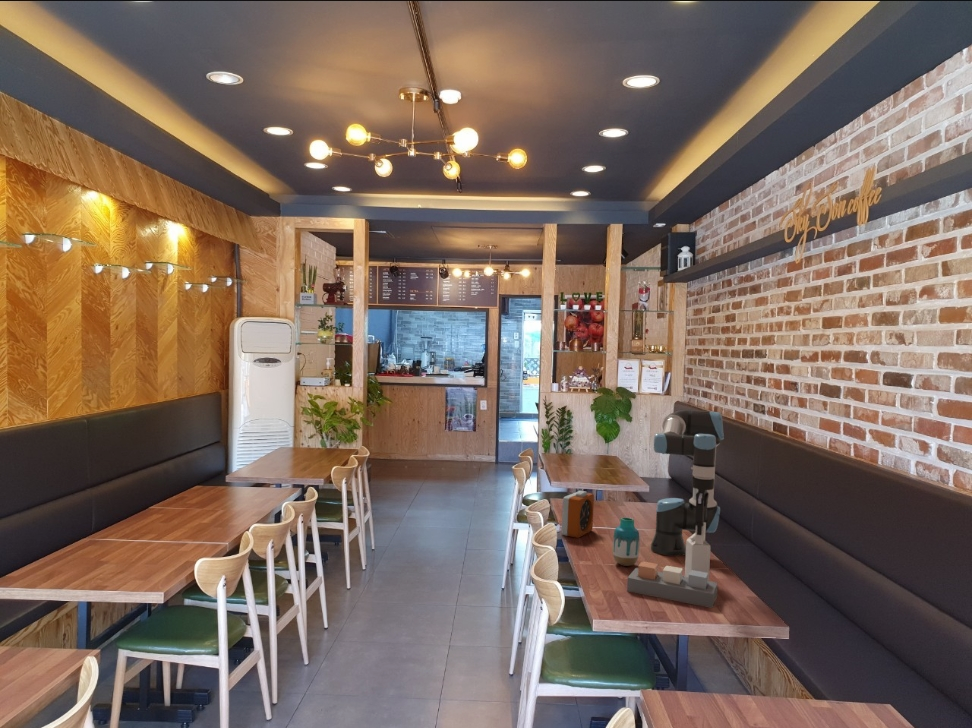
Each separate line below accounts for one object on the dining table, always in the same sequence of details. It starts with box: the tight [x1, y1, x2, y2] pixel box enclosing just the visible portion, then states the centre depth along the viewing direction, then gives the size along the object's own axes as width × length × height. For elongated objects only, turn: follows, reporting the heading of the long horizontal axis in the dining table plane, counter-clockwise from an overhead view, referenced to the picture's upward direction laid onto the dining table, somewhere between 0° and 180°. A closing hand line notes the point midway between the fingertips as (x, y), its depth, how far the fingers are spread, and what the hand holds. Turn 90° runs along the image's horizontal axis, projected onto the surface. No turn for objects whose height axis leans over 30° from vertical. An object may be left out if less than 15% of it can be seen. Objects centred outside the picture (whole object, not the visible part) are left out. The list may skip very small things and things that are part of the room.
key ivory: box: [662, 565, 684, 584], centre depth 241 cm, size 6×6×6 cm
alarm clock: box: [561, 490, 595, 539], centre depth 317 cm, size 18×9×21 cm, turn 148°
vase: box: [612, 516, 640, 567], centre depth 272 cm, size 11×11×19 cm
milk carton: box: [684, 530, 711, 581], centre depth 256 cm, size 7×7×19 cm
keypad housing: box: [626, 567, 718, 609], centre depth 241 cm, size 13×30×5 cm, turn 64°
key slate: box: [688, 570, 708, 589], centre depth 237 cm, size 6×6×6 cm
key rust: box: [637, 561, 659, 580], centre depth 245 cm, size 6×6×6 cm
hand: (700, 541), depth 236 cm, fingers open, 4 cm apart
